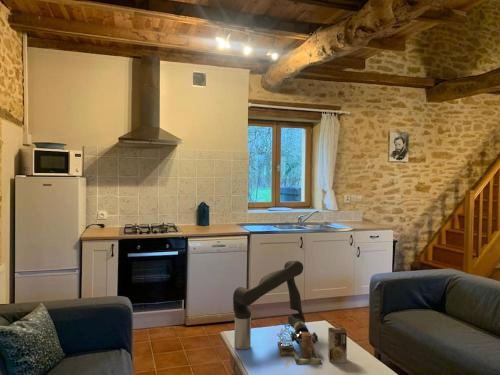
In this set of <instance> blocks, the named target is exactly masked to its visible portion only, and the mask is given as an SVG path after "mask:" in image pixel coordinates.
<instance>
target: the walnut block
mask: <svg viewBox="0 0 500 375" xmlns="http://www.w3.org/2000/svg"><path fill="white" fill-rule="evenodd" d="M311 334H312V333H311V332H310V331H309V332H302V340H301V345H300V347H301V351H300V354H301V356H300V357H301V359H312V349H311V344H312V343H313V342H312V335H311Z"/></svg>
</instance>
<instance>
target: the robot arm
mask: <svg viewBox="0 0 500 375" xmlns="http://www.w3.org/2000/svg"><path fill="white" fill-rule="evenodd" d="M303 271H304V263H302V262H301V261H299V260H289V261H286V262H285V264H284V265H283V269H279V270H278V269H277V270H275V271H272V272H270V273H268V274H266V275H264V276H262V278H260V280H259V282H258V284H257V285H256V286H254V287H252V288H249V289H248V288H245V287H242V286H240V287H239V286H238V287H237V288H235V290H234V291H233V295H232V296H233V297H232V305H233V306H232V307H233V313H234V338H233V339H234V343H233V344H234V349H237V350H241V351H243V350H248V349H250V348H251V345H252V344H251V343H252V342H251V338H252V337H251V332H252V331H251V329H252V324H251V322H252V312H251V310H250V308H248V307H249V306H251V305H252V304H254V303H255V302H256V301H258V300H259V299H260V298H261V297H263V296H264V295H266V294H268V293H269V292H271V291H273V290H275V289H276V288H278V287H280V286H281V285H283V284H284V283H286V284H287V289H288V296H289V309H290V310H292V311H297V313H290V314H289V315H288V316H287V322H288V324H289V326H290V327H291V328H292V329H293V331H294V332H290V338H291V341H292V342H294V341H295V343H296V344H297V345H300V341H302V332H310V331H309V328H308V326H307V325H306V324H305V323H306V319H305V314H304V312H303V308H302V300H301V299H302V298H301V297H302V296H301V294H300V290H299V288H298V287H297V284H296V281H295V278H296V277H298V276H300V275H301V274H302V273H303ZM311 335H312V343H313V345H315V344H316V343H317V342H319V341H318V340H319V338H318V334H317V333H316V332H312V333H311Z"/></svg>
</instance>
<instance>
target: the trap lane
mask: <svg viewBox="0 0 500 375" xmlns="http://www.w3.org/2000/svg"><path fill="white" fill-rule="evenodd" d="M281 344H282V343H281V341H277V347H278V351H279V354H280V357H293V359H294V361H295V364H296V365H310V364H311V365H313V364H314V365H320V364H321V365H322V358H321V356H320V355H319V353H318V351H317V349H316V347H315V344H313V342H312V344H311V352H312V353H313V355H314V358H311V359H302V358H299V355H298V353H297V351H296V350H295V346H293V345H290V346H281Z"/></svg>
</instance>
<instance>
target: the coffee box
mask: <svg viewBox="0 0 500 375" xmlns="http://www.w3.org/2000/svg"><path fill="white" fill-rule="evenodd" d="M327 329H328V330H327V331H328V336H327V338H328V339H327V341H328V342H327V344H328V345H327V348H328V349H327V350H328V352H327V357H328V362H329V363H338V364H339V363H344V364H347V363H348V362H347V359H348V358H347V355H348V354H347V350H348V344H347V342H348V339H347V338H348V336H347V334H348V333H347V330H346V328H345V327H328V328H327Z"/></svg>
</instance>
